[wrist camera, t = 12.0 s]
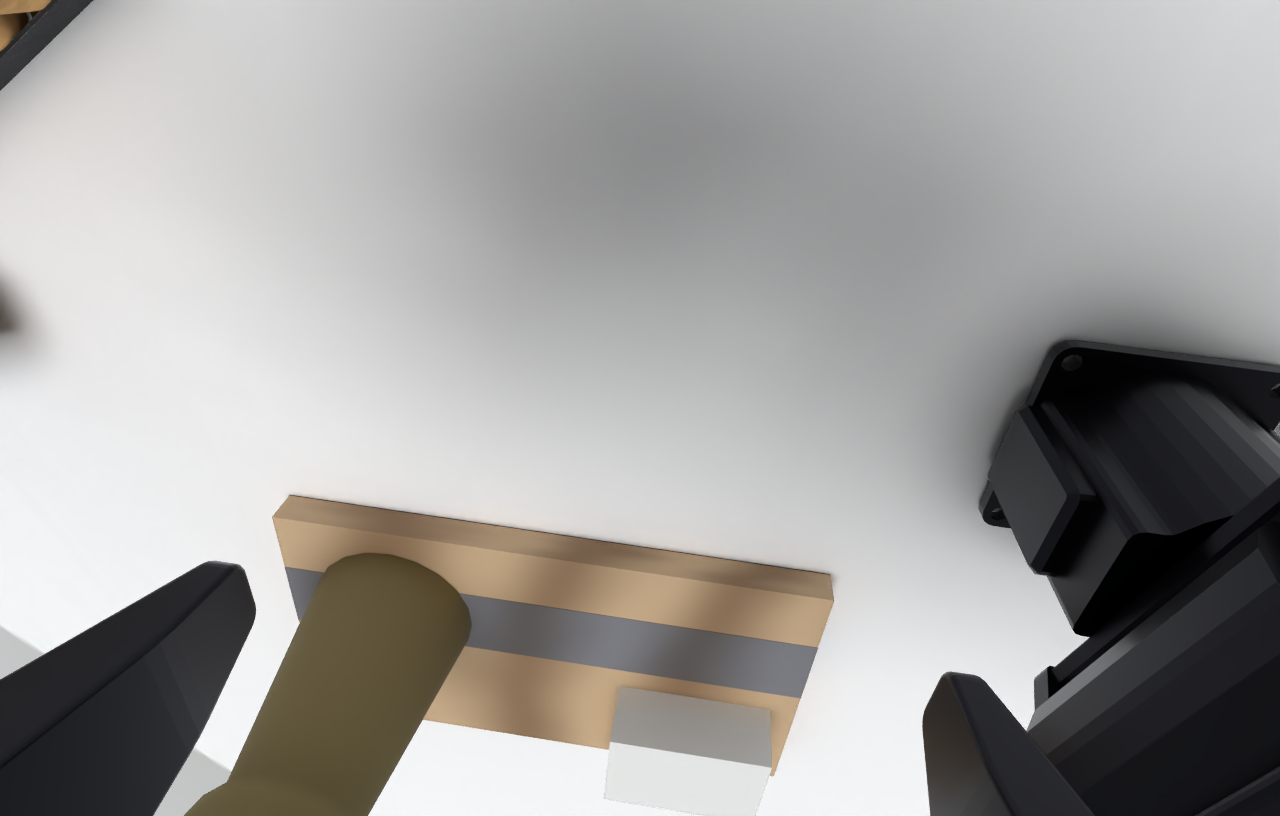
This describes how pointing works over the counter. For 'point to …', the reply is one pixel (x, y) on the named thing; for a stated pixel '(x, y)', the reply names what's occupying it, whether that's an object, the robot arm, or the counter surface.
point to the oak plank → (581, 619)
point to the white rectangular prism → (688, 754)
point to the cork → (347, 692)
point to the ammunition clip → (31, 30)
